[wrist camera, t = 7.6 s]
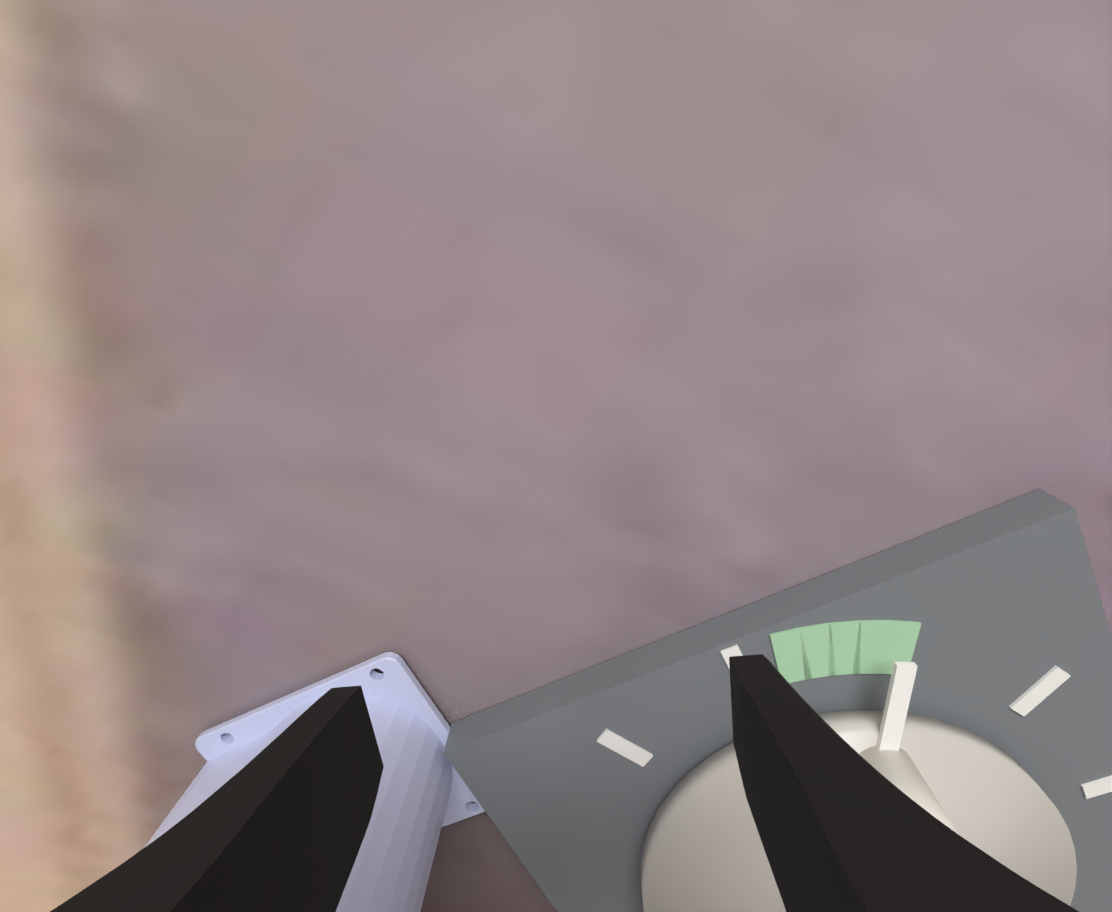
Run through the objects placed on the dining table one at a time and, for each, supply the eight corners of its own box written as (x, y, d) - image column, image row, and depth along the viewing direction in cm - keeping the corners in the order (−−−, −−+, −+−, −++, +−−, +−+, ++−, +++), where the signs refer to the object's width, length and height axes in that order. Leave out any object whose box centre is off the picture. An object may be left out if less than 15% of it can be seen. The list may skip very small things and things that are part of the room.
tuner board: (682, 1053, 30) (687, 1099, 28) (451, 722, 24) (442, 757, 22) (1172, 928, 26) (1211, 974, 24) (1039, 488, 20) (1079, 510, 18)
